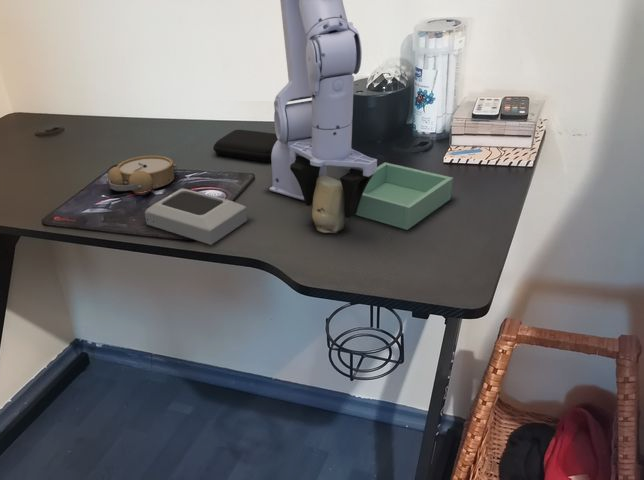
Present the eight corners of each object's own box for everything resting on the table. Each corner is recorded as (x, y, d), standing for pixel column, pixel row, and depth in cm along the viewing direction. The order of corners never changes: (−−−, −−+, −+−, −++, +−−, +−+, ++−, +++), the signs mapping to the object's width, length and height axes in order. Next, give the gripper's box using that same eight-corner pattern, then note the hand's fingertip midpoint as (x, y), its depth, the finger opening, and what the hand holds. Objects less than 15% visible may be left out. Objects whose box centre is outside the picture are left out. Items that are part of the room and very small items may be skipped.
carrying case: (297, 145, 130) (238, 138, 138) (297, 131, 128) (237, 124, 136) (271, 165, 124) (210, 156, 132) (270, 150, 122) (208, 142, 130)
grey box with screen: (208, 224, 100) (143, 204, 109) (211, 244, 102) (146, 224, 111) (245, 200, 105) (180, 183, 114) (247, 220, 107) (182, 202, 116)
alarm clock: (184, 158, 125) (138, 175, 114) (185, 183, 127) (139, 202, 117) (140, 152, 130) (92, 168, 120) (141, 176, 133) (94, 194, 122)
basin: (339, 210, 106) (340, 189, 103) (383, 182, 111) (384, 162, 109) (407, 230, 98) (409, 207, 95) (450, 199, 103) (453, 177, 101)
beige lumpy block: (350, 220, 102) (352, 173, 97) (345, 236, 99) (347, 188, 94) (315, 219, 104) (315, 173, 99) (308, 234, 101) (308, 187, 96)
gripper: (275, 123, 94) (278, 207, 102) (357, 140, 85) (353, 231, 93) (305, 109, 97) (306, 191, 105) (388, 123, 88) (381, 212, 96)
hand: (330, 209), depth 99 cm, fingers open, 7 cm apart
